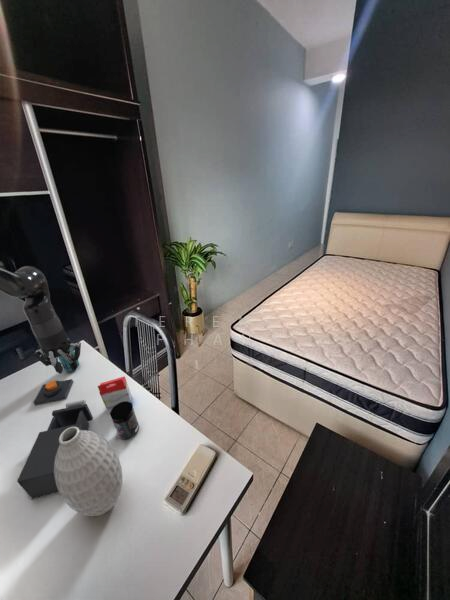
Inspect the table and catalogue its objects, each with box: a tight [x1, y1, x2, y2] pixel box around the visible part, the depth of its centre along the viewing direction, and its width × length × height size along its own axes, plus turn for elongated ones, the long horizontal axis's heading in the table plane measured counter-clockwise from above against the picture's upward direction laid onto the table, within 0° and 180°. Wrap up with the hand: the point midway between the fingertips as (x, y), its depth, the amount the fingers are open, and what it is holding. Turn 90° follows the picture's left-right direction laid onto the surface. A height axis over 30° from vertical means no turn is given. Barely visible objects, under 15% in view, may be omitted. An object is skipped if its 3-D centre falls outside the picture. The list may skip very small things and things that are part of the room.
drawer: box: [47, 399, 94, 431], centre depth 81 cm, size 17×10×7 cm, turn 13°
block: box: [32, 378, 74, 406], centre depth 98 cm, size 11×9×4 cm
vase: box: [54, 427, 124, 517], centre depth 59 cm, size 13×13×28 cm
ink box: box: [97, 376, 134, 416], centre depth 88 cm, size 8×5×15 cm, turn 111°
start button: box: [45, 380, 57, 391], centre depth 97 cm, size 4×4×2 cm
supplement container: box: [109, 401, 140, 440], centre depth 80 cm, size 7×7×10 cm
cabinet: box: [16, 423, 84, 500], centre depth 71 cm, size 14×12×9 cm
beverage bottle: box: [58, 337, 80, 372], centre depth 105 cm, size 6×7×20 cm
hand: (68, 370), depth 85 cm, fingers open, 3 cm apart
